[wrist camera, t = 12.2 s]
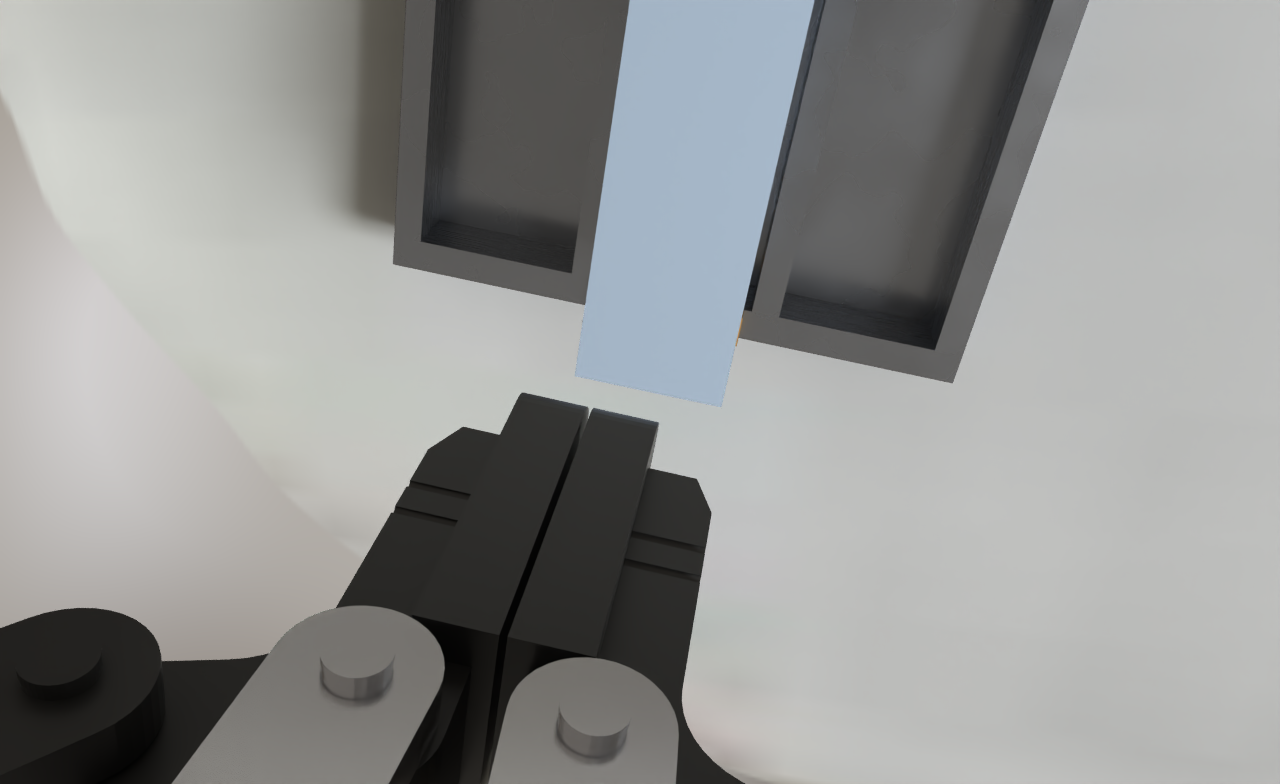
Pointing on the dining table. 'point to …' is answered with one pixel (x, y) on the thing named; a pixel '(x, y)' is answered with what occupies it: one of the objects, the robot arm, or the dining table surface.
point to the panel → (687, 189)
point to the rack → (805, 173)
